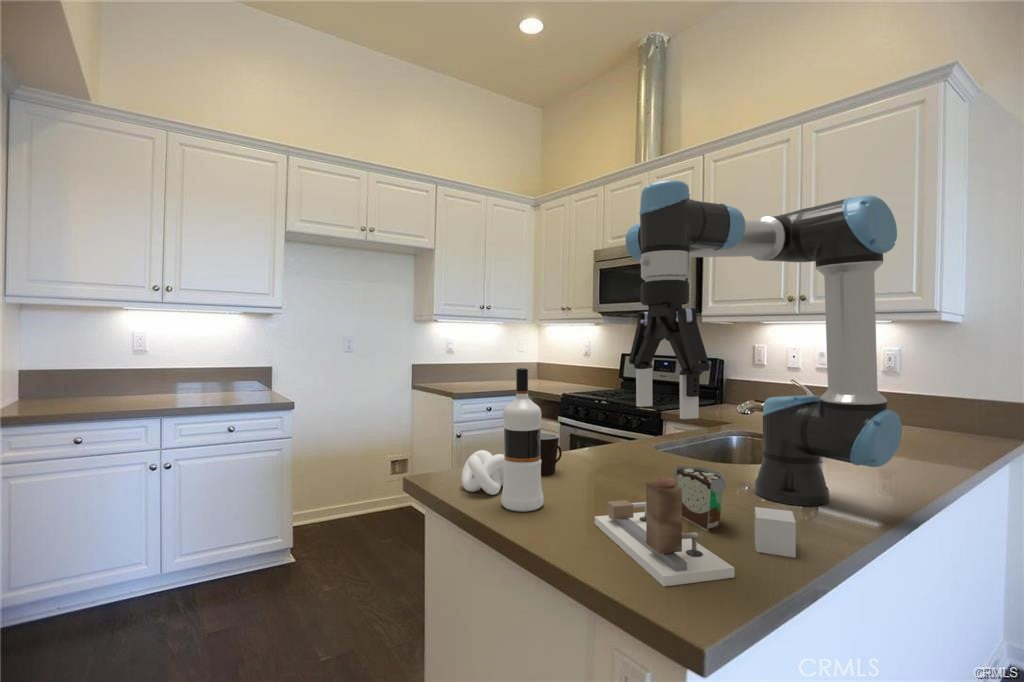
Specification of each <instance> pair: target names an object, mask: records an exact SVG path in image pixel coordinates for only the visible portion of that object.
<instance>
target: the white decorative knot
mask: <svg viewBox="0 0 1024 682" xmlns="http://www.w3.org/2000/svg"><path fill="white" fill-rule="evenodd" d="M503 460H504V453H498V454H494V455H493V454H492V453H491V452H489V451H488V450H484V449H480V450H477V451H475V452H473V453H472V454H471V455H470V456H469V457H468V459H467V460H466V461H465V464H464V466H463V468H462V472H461V484H462V486H463V488H464V489H465V490H466V491H468V492H469V493H470V492H471V493H474V492H478V491H479V490H481V489H482V490H483V491H484V492H485V493H486V494H488V495H492V496H495V495H497V494H499V492H500V490H501V487H502V484H503V483H504V463H503Z"/></svg>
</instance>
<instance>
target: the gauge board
mask: <svg viewBox="0 0 1024 682" xmlns="http://www.w3.org/2000/svg"><path fill="white" fill-rule="evenodd" d="M635 508H644V511H642V512H641V511H640V512H639V511H638V512H634V509H635ZM594 525H595V526H596V527H599V529H600V530H601V531H602V532H603V533H604V534H605V535H606V536H607V537H608V538H610V539H611V541H613V542H614V543H615V544H616V545H617V546H618V545H619V546H618V547H620V548H621V550H623V551H624V552H625V553H626V555H628V556H629V557H630V558H632V560H634V561H635V563H637V564H638V565H639V566H641V567H642V568H643V570H645V571H646V572H647V573H648V574H649V575H650V576H651V577H652V578H654V579H655V580H656V582H658V583H659V584H660V585H661V586H663V587H669V586H670V587H671V586H677V585H679V586H680V585H685V584H692V583H701V582H708V581H709V582H710V581H716V580H718V581H719V580H724V579H725V580H726V579H732V578H735V566H733V565H731V564H729V563H728V562H727V561H725V560H723V559H722V558H721V557H719V556H717V554H715V553H713V552H711V550H709V549H707V548H705V546H703V545H701V544H699V543H698V542H697V548H696V553H694V552H692V538H691V539H682V552H673V553H664V554H658V553H657V552H656V551H654V550H653V549H652V548H651V547H650V546H648V545H647V544H646V501H640V502H630V501H629V500H627V499H624V500H623V499H621V500H612V501H611V500H610V501H606V515H597V516H596V515H595V516H594ZM682 534H683V532H682Z"/></svg>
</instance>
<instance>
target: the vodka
mask: <svg viewBox="0 0 1024 682" xmlns="http://www.w3.org/2000/svg"><path fill="white" fill-rule="evenodd" d="M515 372H516V375H515V376H516V377H515V378H516V379H515V380H516V381H515V382H516V384H515V385H516V388H515V390H516V391H515V393H516V395H515V396H516V397H515V399H513V400H512V401H511V402H510V403H508V404H507V405H506V406H504V409H503V412H502V418H503V419H502V420H503V425H502V426H503V455H504V460H503V463H504V482H503V483H502V486H503V487H502V493H501V496H500V499H501V500H500V501H501V505H502V506H503V508H505V509H507V510H508V511H512V512H519V513H520V512H521V513H523V512H524V513H527V512H534V511H537V510H538V509H540V508H542V507H543V505H544V502H545V500H544V499H545V496H544V493H543V487H542V476H541V462H542V461H541V433H542V432H541V428H542V410H541V408H540V406H539V405H537V403H535V402H533V400H532V399H530V398H529V369H528V368H525V367H520V368H516V370H515Z"/></svg>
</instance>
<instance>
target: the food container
mask: <svg viewBox="0 0 1024 682" xmlns="http://www.w3.org/2000/svg"><path fill="white" fill-rule="evenodd" d="M674 476H676V485H677V486H679V487H681V488H682V517H683V518H682V519H684V518H685V519H684V520H686V519H687V520H689V521H690V522H689V521H688V522H689V523H691V522H692V523H691V524H693V523H694V524H693V525H695V524H696V525H697V526H696V525H695V526H696V527H698V526H699V527H698V528H700V527H701V528H700V529H702V530H703V529H704V531H705V530H706V531H705V532H707V531H708V532H707V533H710V532H709V531H711V532H714V531H716V529H717V530H718V529H719V528H720V522H721V520H720V519H721V511H722V499H723V490H724V491H725V490H726V488H727V482H726V478H725V476H724V474H723V473H722V472H720V471H718V470H716V469H712V468H709V467H703V466H697V465H696V466H695V465H676V466H675V469H674ZM687 520H686V521H687ZM718 527H719V528H718ZM713 530H714V531H713Z"/></svg>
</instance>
